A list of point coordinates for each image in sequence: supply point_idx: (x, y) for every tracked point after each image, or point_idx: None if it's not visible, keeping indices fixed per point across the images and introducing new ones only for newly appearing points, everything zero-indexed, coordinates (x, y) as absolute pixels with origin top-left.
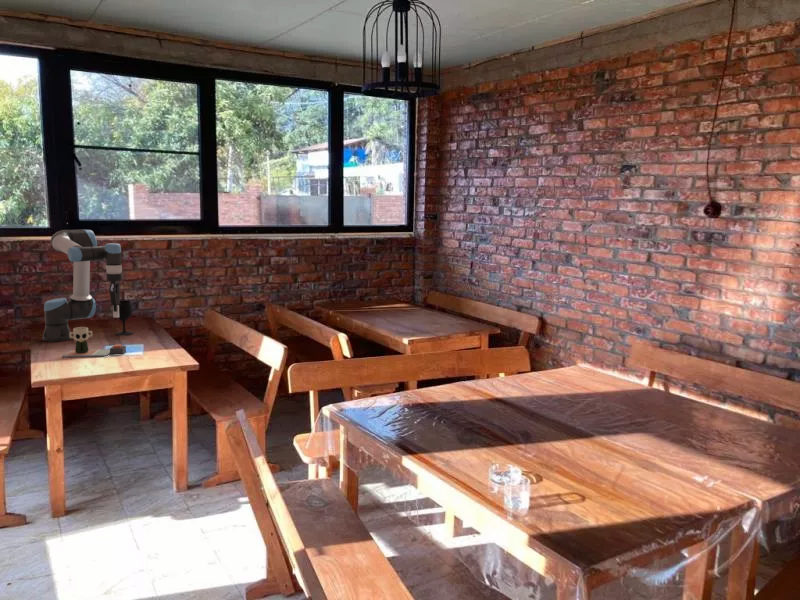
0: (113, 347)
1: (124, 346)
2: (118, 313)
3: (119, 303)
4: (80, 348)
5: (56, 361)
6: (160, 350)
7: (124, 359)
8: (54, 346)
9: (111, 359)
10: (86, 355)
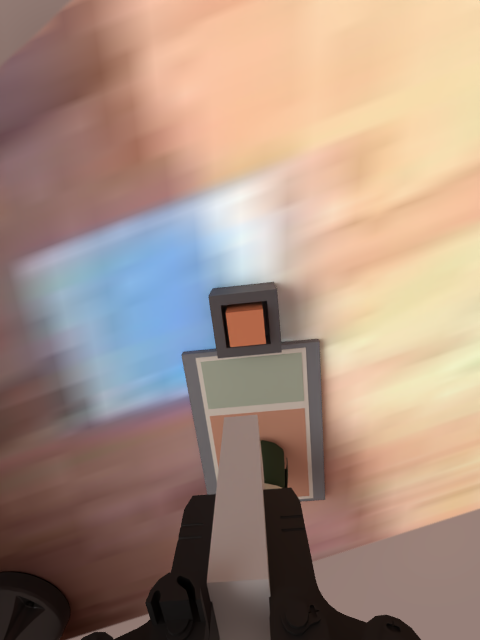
0: (250, 345)
1: (230, 295)
2: (257, 449)
3: (169, 613)
4: (287, 472)
5: (380, 490)
6: (160, 97)
7: (377, 237)
8: (138, 574)
9: (370, 301)
10: (314, 423)
